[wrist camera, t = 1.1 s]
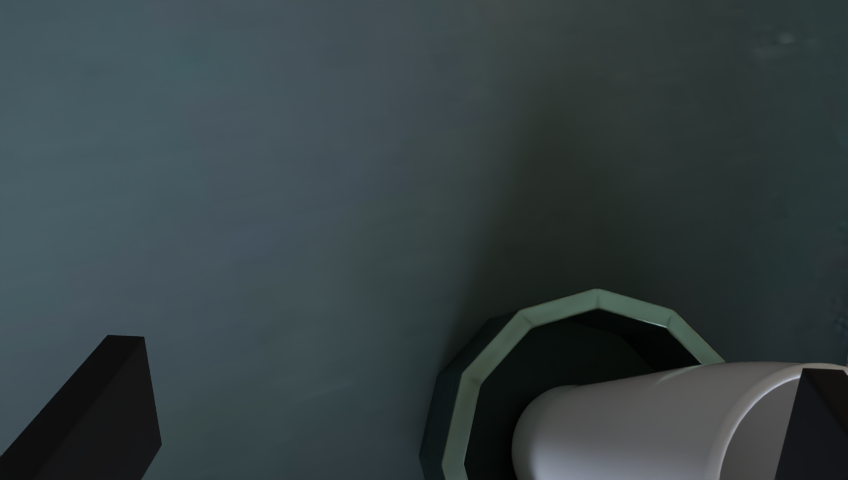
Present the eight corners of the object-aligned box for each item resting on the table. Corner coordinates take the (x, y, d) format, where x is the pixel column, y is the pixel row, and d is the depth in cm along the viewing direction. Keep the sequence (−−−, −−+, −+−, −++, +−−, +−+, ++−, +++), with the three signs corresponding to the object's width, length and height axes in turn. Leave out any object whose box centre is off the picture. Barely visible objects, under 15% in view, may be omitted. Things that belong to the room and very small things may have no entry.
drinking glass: (629, 360, 33) (930, 347, 18) (650, 523, 32) (988, 645, 17) (481, 374, 31) (683, 371, 17) (498, 546, 30) (729, 701, 16)
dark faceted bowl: (389, 347, 31) (406, 341, 27) (647, 273, 34) (696, 258, 30) (472, 653, 29) (504, 693, 25) (736, 546, 32) (800, 568, 28)
